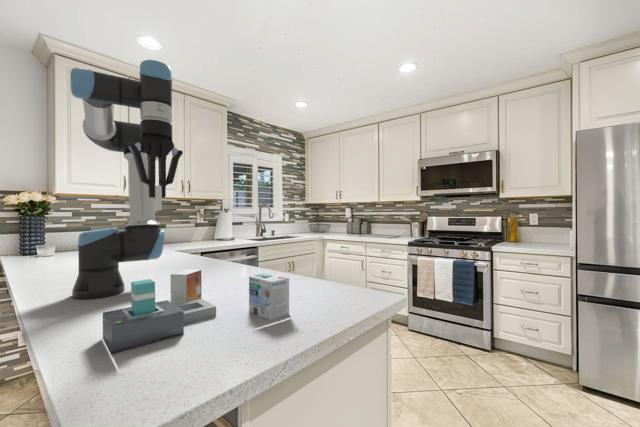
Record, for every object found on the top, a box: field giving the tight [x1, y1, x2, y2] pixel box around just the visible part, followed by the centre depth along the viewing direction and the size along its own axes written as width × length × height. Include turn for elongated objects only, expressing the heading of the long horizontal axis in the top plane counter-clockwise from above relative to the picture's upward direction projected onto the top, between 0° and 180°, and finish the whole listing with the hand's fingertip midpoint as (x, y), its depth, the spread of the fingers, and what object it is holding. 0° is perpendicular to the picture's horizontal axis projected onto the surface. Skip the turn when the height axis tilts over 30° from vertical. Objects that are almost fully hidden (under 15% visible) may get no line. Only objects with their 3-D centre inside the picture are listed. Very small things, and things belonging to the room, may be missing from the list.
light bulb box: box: [248, 272, 290, 321], centre depth 85 cm, size 11×7×11 cm, turn 47°
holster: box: [175, 298, 217, 325], centre depth 83 cm, size 10×10×3 cm
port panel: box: [102, 299, 185, 357], centre depth 70 cm, size 12×14×6 cm
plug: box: [130, 278, 156, 316], centre depth 70 cm, size 4×4×12 cm
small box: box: [170, 268, 202, 305], centre depth 94 cm, size 8×6×10 cm
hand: (157, 209), depth 81 cm, fingers closed
